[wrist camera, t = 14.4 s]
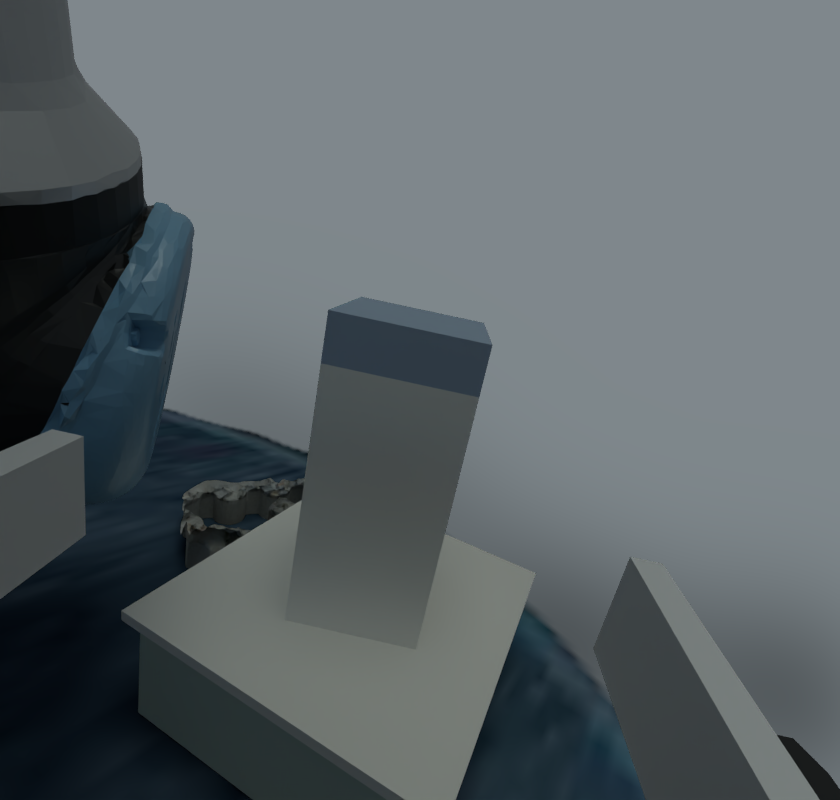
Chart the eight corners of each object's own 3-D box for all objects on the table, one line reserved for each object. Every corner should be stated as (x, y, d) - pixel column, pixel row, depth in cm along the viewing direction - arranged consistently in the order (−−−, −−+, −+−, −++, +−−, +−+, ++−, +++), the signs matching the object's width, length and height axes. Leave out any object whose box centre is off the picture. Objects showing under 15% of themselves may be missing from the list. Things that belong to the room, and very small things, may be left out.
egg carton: (178, 585, 30) (180, 530, 29) (180, 518, 36) (182, 471, 35) (340, 565, 35) (348, 517, 34) (317, 509, 41) (323, 467, 40)
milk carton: (284, 619, 21) (328, 309, 17) (322, 542, 27) (361, 297, 23) (415, 649, 21) (492, 345, 17) (425, 565, 27) (483, 322, 22)
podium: (120, 715, 22) (121, 610, 20) (317, 554, 35) (328, 483, 33) (409, 940, 16) (445, 827, 15) (510, 651, 30) (535, 573, 28)
